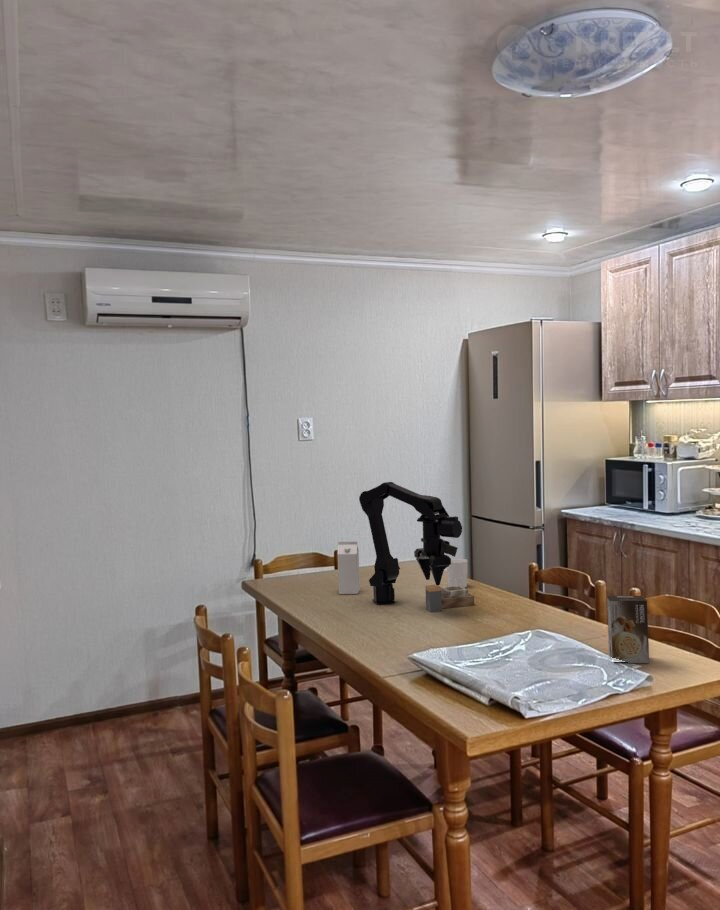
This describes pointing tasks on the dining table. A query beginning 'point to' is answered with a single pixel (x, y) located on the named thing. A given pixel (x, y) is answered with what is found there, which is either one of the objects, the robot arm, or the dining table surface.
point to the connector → (433, 598)
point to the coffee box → (628, 628)
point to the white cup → (457, 573)
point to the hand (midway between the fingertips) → (432, 582)
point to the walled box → (456, 597)
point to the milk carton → (348, 568)
